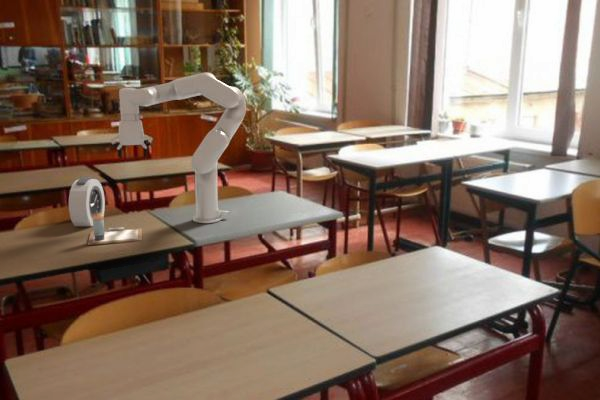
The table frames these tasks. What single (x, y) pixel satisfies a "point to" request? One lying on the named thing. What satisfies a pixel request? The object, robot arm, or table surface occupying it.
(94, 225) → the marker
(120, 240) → the clipboard
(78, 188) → the alarm clock
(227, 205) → the table surface
